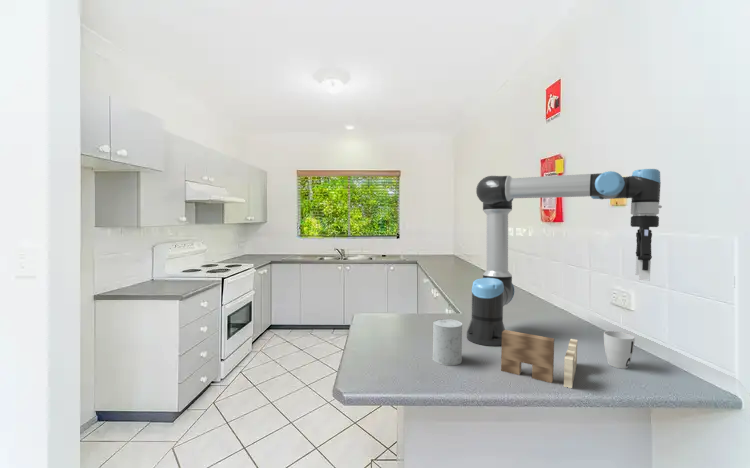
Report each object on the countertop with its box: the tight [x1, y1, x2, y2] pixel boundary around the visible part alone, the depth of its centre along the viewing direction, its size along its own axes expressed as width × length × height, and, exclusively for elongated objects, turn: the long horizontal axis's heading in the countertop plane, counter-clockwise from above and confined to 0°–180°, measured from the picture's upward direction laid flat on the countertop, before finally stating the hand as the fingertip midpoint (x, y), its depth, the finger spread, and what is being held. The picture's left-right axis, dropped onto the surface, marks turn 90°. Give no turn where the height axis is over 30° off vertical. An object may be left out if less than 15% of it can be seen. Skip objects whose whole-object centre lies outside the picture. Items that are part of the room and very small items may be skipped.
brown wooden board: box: [500, 329, 555, 384], centre depth 102 cm, size 14×3×12 cm, turn 56°
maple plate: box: [563, 338, 578, 389], centre depth 102 cm, size 20×2×8 cm, turn 146°
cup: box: [603, 330, 636, 370], centre depth 110 cm, size 8×8×10 cm
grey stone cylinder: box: [432, 318, 463, 366], centre depth 113 cm, size 10×10×12 cm
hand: (642, 277), depth 116 cm, fingers open, 13 cm apart
